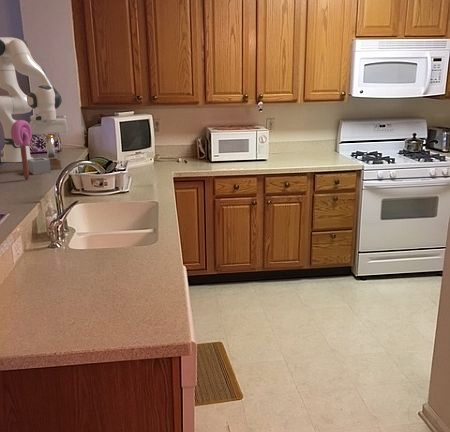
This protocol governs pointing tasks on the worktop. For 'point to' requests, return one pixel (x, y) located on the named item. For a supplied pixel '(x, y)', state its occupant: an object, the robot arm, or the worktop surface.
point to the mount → (55, 164)
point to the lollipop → (22, 141)
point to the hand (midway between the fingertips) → (50, 141)
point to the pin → (50, 146)
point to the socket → (39, 166)
